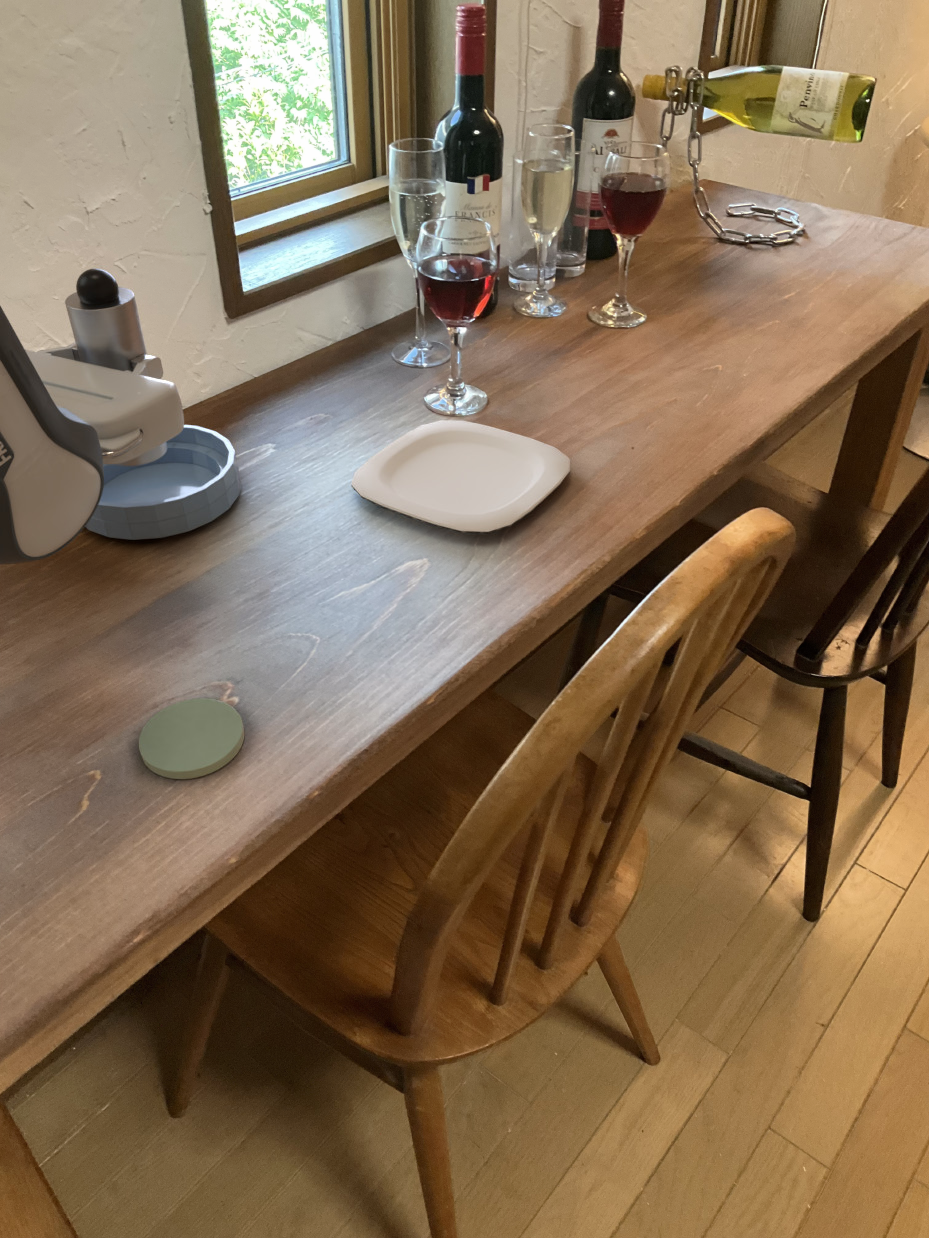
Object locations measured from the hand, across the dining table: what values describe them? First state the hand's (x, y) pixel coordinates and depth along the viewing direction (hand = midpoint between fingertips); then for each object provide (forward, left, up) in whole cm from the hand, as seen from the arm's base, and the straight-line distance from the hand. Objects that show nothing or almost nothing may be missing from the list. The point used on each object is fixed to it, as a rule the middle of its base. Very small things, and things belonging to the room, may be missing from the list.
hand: (122, 357), depth 76 cm
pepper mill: (-1, -1, -8) cm, 8 cm away
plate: (+28, -4, -17) cm, 33 cm away
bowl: (+1, +6, -17) cm, 18 cm away
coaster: (-3, -27, -17) cm, 32 cm away
